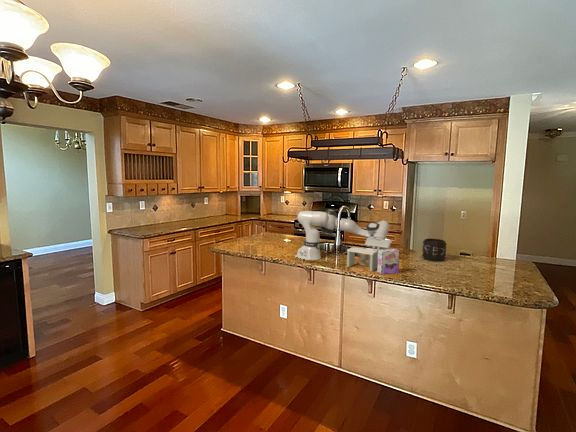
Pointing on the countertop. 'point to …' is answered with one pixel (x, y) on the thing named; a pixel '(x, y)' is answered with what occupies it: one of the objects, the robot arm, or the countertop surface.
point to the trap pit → (357, 269)
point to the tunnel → (372, 253)
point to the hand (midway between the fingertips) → (374, 252)
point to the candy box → (388, 261)
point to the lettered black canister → (434, 250)
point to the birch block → (364, 259)
